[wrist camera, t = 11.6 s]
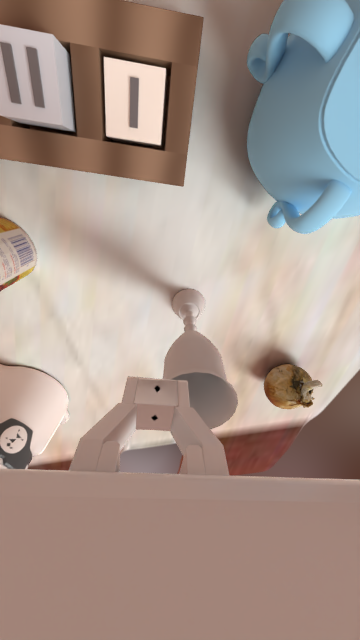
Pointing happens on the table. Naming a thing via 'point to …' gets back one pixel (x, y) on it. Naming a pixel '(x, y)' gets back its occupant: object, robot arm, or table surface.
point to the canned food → (15, 253)
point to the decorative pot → (308, 113)
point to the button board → (89, 86)
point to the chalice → (199, 364)
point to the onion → (289, 387)
